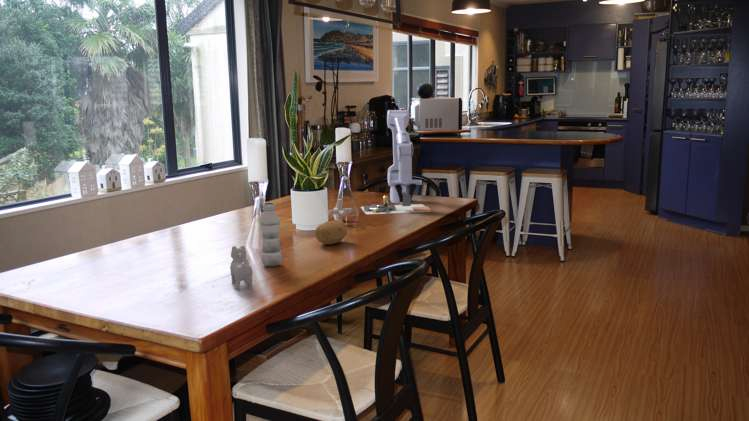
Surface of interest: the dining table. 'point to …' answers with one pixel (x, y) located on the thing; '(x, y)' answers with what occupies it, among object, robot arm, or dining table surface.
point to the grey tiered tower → (270, 236)
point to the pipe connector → (339, 210)
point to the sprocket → (380, 207)
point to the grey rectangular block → (406, 199)
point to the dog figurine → (240, 267)
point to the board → (404, 209)
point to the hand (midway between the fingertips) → (405, 201)
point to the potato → (331, 232)
